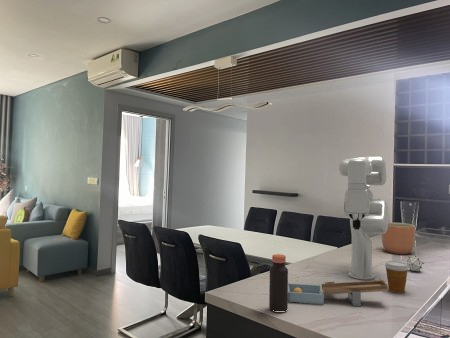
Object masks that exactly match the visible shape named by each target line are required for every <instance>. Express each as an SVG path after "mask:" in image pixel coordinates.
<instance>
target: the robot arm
mask: <svg viewBox="0 0 450 338" xmlns="http://www.w3.org/2000/svg"><path fill="white" fill-rule="evenodd" d="M338 166H339V167H338V171H339V174H340V176H342V177H347V190H345V192H344V200H343V211H344V212H343V215H344V216H348V217H350V219H349V224H350V225H349V226H350V231H351V232H350V233H351V271H349V272H348V274H347V275H348V277H350V278H352V279H357V280H363V281H373V280H375V279H376V275H375V274H374V273H373V269H372V268H373V242H372V239H371V238H370V237H369V235H368V234H374V235H375V234H376V235H381V234H384V233H386V232H387V229H388V222H389V206H388V202H387V201H386V200H384V199H381V198H374V195H373V192H372V191H371V190H370V186H384V185H385V184H386V182H387V167H386V166H387V164H386V160H385V159H384V158H383V157H382V156H379V155H378V156H377V155H375V156H371V155H370V156H360V157H355V158H348V159H347V158H346V159H343V160H341V161H340V163H339V165H338Z"/></svg>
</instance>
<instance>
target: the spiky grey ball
mask: <svg viewBox="0 0 450 338" xmlns="http://www.w3.org/2000/svg"><path fill="white" fill-rule="evenodd" d="M406 264H407V265H408V267H409V271H412V273H414V272H421V269H423V267H422V266H423V265H424V264H425V262H422V261H421V259H420V258H419V257H417V256H416V255H415V256H414V257H413V256H412V257H410V256H408V259H407V260H406Z"/></svg>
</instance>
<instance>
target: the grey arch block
mask: <svg viewBox="0 0 450 338" xmlns="http://www.w3.org/2000/svg"><path fill="white" fill-rule="evenodd" d="M361 294H362V292H361V291H352V293H347V299H348V300H349V303H350V305H352V306H351V307H361V306H362V305H361V304H362V303H361V300H362V295H361Z"/></svg>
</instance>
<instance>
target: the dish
mask: <svg viewBox="0 0 450 338" xmlns="http://www.w3.org/2000/svg"><path fill="white" fill-rule="evenodd" d="M295 288H300V289H301V290H302V293H299V292H293V290H294V289H295ZM324 295H325V294H324V293H322V291H321V285H319V284H303V283H289V282H288V302H299V303H298V304H302V303H310V304H309V305H317V304H322V305H321V306H324V303H325V297H324Z"/></svg>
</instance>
